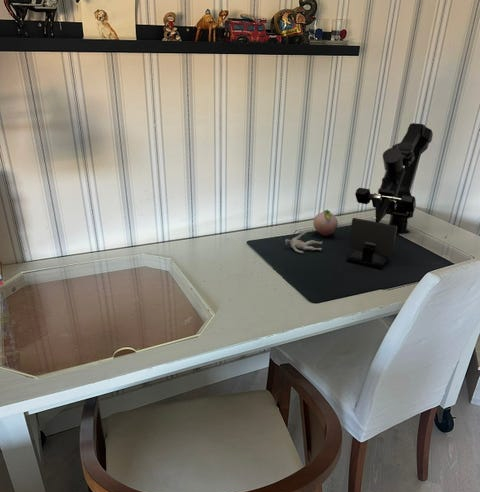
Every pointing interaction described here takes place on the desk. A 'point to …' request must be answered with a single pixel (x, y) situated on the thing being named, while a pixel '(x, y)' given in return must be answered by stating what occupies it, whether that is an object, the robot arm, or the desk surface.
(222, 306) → the desk surface
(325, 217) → the decorative fruit
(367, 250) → the monitor stand
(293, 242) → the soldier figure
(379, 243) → the monitor screen
